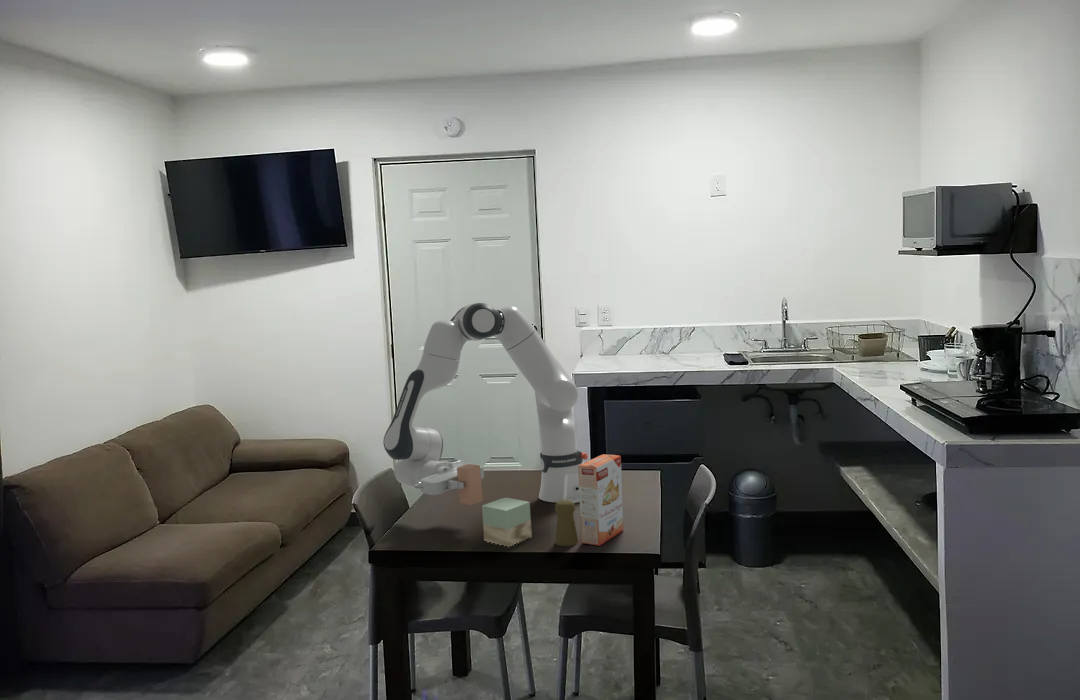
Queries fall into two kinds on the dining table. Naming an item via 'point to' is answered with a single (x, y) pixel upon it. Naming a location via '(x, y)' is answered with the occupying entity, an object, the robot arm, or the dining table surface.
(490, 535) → the beech block
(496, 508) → the green block
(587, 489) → the cracker box
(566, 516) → the cork
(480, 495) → the rust block
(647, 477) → the dining table surface
